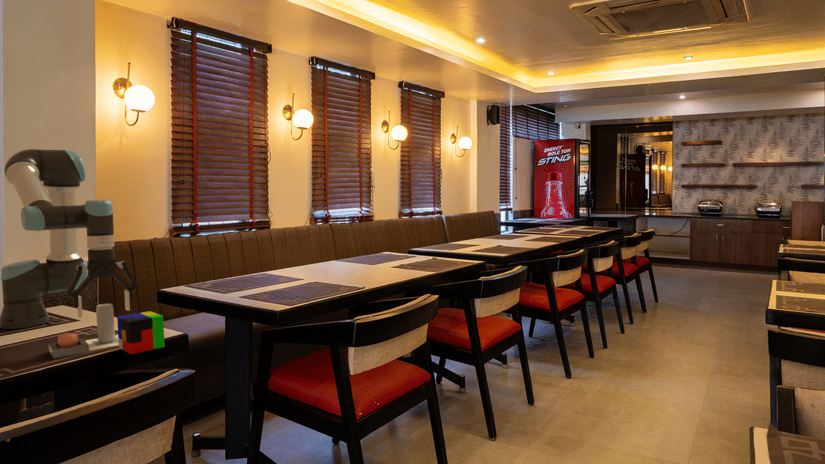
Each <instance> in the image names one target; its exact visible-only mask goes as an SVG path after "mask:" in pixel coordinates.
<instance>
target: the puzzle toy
mask: <svg viewBox="0 0 825 464" xmlns="http://www.w3.org/2000/svg"><path fill="white" fill-rule="evenodd" d="M116 321H117V335H118V341H119V346H118V348H119V349H121V350H123V351H124V352H126V353H127V354H129V355H136V354H139V353H143V352H149V351H152V350H156V349H157V350H158V349H161V348H165V347H166V345H165V331H164V330H165V327H164V326H165V325H164V316H163V315H162V314H159V313H156V312H154V311H150V310H149V311H144V312H137V313H132V314H126V315H120V316H117V317H116Z"/></svg>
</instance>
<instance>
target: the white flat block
mask: <svg viewBox="0 0 825 464" xmlns="http://www.w3.org/2000/svg"><path fill="white" fill-rule="evenodd" d="M84 340H85V339H84ZM85 341H86V342H87V343H88V346H89V352H91V351H97V350H101V349H102V350H104V349H107V348H113V347H114V348H115V347H119V341H118V334H115V340H114V341H112V342H109V343H100V342H99V341H98V337H97V338H93V339H86V340H85Z"/></svg>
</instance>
